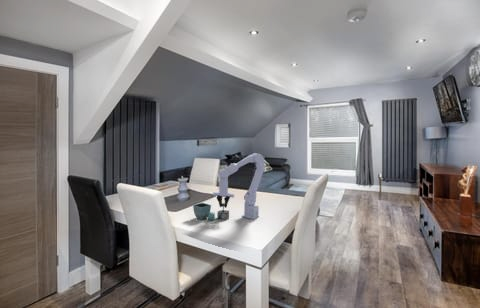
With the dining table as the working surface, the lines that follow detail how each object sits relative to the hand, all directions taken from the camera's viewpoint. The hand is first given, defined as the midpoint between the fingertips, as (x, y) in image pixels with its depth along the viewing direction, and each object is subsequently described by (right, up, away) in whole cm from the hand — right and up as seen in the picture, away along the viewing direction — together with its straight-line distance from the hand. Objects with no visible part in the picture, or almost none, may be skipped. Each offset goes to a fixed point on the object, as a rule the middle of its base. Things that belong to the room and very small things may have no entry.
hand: (223, 207), depth 160 cm
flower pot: (-14, -8, 0) cm, 16 cm away
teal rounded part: (-8, -8, -3) cm, 11 cm away
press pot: (0, -8, 0) cm, 8 cm away
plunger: (0, -4, 0) cm, 4 cm away
